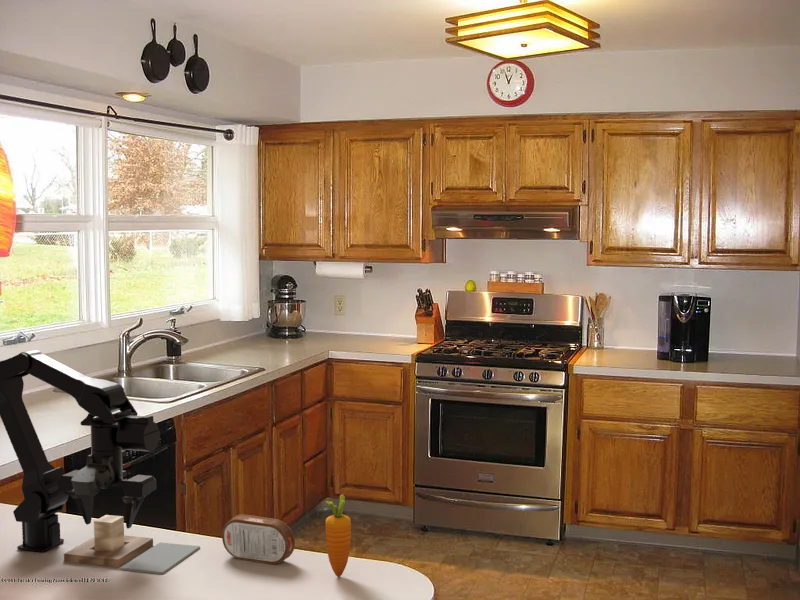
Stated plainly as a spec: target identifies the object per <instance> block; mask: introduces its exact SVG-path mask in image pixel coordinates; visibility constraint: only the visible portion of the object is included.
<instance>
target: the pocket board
mask: <svg viewBox="0 0 800 600" xmlns="http://www.w3.org/2000/svg"><path fill="white" fill-rule="evenodd" d="M153 546H154V537H145V536H144V537H143V536H133V535H125V534H124V546H123V547H121V548H119V549H118V550H116V551H114V552H110V551H101V550H95V543H94V537H92V538H90V539H88V540H86V541H85V542H82V543H81V544H78V545H77V546H75V547H74V548H72V549H69V550H67V551H66V552H65V553H64V554H63V562H69V563H77V564H86V565H95V566H105V567H115V568H120V567H122V566H123V565H125V564H127V563H128V562H130V561H131V560H133V559H134V558H136V557H138V556H139V555H141V554H142V553H144V552H146V551H147V550H149V549H150V548H152V547H153Z"/></svg>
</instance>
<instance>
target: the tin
mask: <svg viewBox="0 0 800 600" xmlns="http://www.w3.org/2000/svg"><path fill="white" fill-rule="evenodd" d="M221 530H222V532H221V540H222V544H223V547H224V549H225V550H226V552H227V553H228V554H229V555H230V556H232V557H233V558H235V559H238V560H242V561H243V560H244V561H249V562H250V561H251V562H256V563H262V564H268V565H278V564H281V563H283V562H284V561H286V560H287V559H288V558H290V557H291V556H292V554H293V553H294V551H295V547H296V546H295V545H296V540H295V539H296V538H295V536H294V533H293V531H292V529H291V528H290V526H289V525H287V523H286V522H284V521H282V520H280V519H276V518H270V517H265V516H263V517H262V516H258V515H249V514H243V513H242V514H237V515H234V516H233V517H232V518H231V519H230V520H228V521H227V522H226V523H225V524H224V526H223V527H222V529H221Z"/></svg>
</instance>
